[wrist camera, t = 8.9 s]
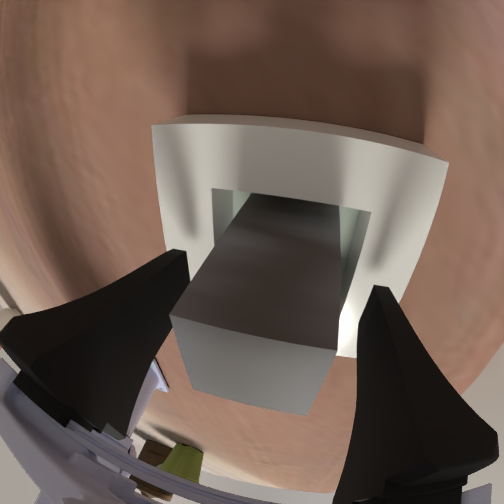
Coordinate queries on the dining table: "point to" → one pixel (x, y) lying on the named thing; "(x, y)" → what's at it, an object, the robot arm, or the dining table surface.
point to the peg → (265, 306)
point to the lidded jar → (7, 316)
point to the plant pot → (184, 463)
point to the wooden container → (155, 457)
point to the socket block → (302, 192)
